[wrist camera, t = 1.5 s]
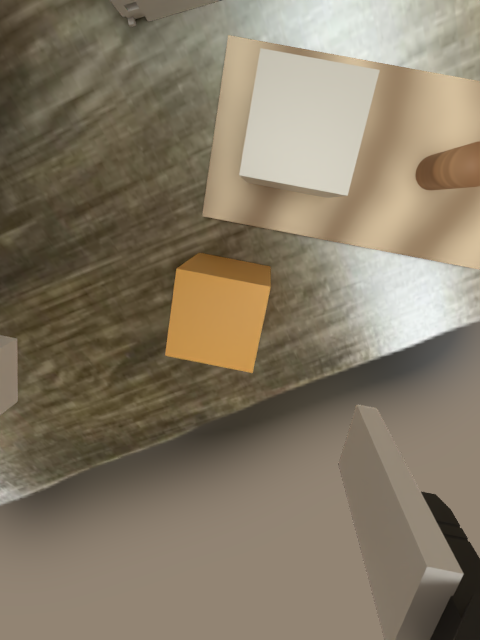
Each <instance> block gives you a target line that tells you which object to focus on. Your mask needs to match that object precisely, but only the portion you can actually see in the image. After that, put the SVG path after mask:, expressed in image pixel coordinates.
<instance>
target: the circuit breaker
mask: <svg viewBox="0 0 480 640" xmlns="http://www.w3.org/2000/svg"><path fill="white" fill-rule="evenodd" d="M110 1H111V3H112V4H113V5H114V6H115V8H116V9H117V10H118V12H119V13H120V14H121V15H122V17H124V16H126V17H127V19H128V23H129V25H130V27H133V26H136V21H135V19H137V18H141V17H144V16H145V17H146V19H147V20H148V22H150V21H153V20H157V19H160V18H164V17H167V16H170V15H174V14H177V13H181V12H184V11H187V10H191V9H194V8H198V7H201V6H204V5H208V4H211V3H215V2H218V1H221V0H110Z"/></svg>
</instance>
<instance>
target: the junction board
mask: <svg viewBox="0 0 480 640" xmlns="http://www.w3.org/2000/svg"><path fill="white" fill-rule="evenodd" d="M260 48H263V49H268V50H273V51H279V52H284V53H290V54H295V55H301V56H306V57H312V58H317V59H323V60H328V61H333V62H339V63H344V64H350V65H355V66H361V67H366V68H372V69H377V70H380V71H379V75H378V79H377V83H376V86H375V90H374V94H373V98H372V102H371V106H370V110H369V114H368V118H367V122H366V126H365V129H364V133H363V137H362V141H361V145H360V149H359V153H358V157H357V161H356V165H355V169H354V172H353V176H352V180H351V184H350V188H349V192H348V196H340V197H329V198H325V197H320V196H315V195H309V194H304V193H299V192H293V191H288V190H283V189H278V188H272V187H267V186H262V185H257V184H251V183H247V182H246V181H245V180H244V179H243V178H242V177H241V176H239V173H240V167H241V161H242V155H243V149H244V143H245V137H246V131H247V125H248V119H249V113H250V107H251V101H252V96H253V90H254V84H255V78H256V72H257V66H258V60H259V54H260ZM202 216H204V217H209V218H215V219H220V220H225V221H230V222H235V223H241V224H246V225H251V226H256V227H261V228H267V229H272V230H277V231H282V232H287V233H293V234H298V235H303V236H308V237H314V238H319V239H324V240H329V241H334V242H340V243H345V244H350V245H355V246H360V247H366V248H371V249H376V250H381V251H386V252H392V253H397V254H402V255H407V256H412V257H418V258H423V259H428V260H433V261H439V262H444V263H449V264H454V265H459V266H465V267H470V268H475V269H480V81H476V80H470V79H465V78H459V77H454V76H448V75H443V74H437V73H432V72H427V71H421V70H416V69H410V68H405V67H399V66H394V65H388V64H383V63H377V62H372V61H366V60H361V59H355V58H350V57H345V56H339V55H334V54H328V53H323V52H317V51H312V50H306V49H301V48H295V47H290V46H284V45H279V44H274V43H268V42H263V41H257V40H252V39H246V38H241V37H235V36H230V35H228V41H227V48H226V55H225V62H224V69H223V76H222V83H221V89H220V96H219V103H218V110H217V117H216V124H215V131H214V138H213V145H212V152H211V158H210V165H209V172H208V179H207V186H206V193H205V200H204V207H203V214H202Z"/></svg>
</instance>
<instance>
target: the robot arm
mask: <svg viewBox="0 0 480 640" xmlns="http://www.w3.org/2000/svg"><path fill="white" fill-rule="evenodd" d="M16 402H18V382H17V338H12V337H7V336H2V335H0V415H1V414H2V413H4V412H5V411H6V410H7V409H9V408H10V407H11V406H12V405H14V404H15V403H16ZM338 465H339V469H340V473H341V477H342V481H343V484H344V488H345V492H346V496H347V499H348V503H349V507H350V511H351V515H352V519H353V522H354V526H355V530H356V534H357V538H358V541H359V545H360V549H361V553H362V556H363V561H364V564H365V568H366V572H367V575H368V579H369V583H370V587H371V591H372V595H373V598H374V602H375V606H376V610H377V614H378V618H379V621H380V625H381V629H382V633H383V637H384V640H480V558H479V557H478V555H477V553H476V552H475V550H474V548H473V547H472V545H471V543H470V542H468V540H467V539H468V538H467V536H466V535H465V533H464V531H463V530H462V528H460V525H459V523H458V521H457V519H456V518H455V516H454V514H453V513H452V511H451V509H450V508H448V506H446V504H444V502H442V500H441V499H440V498H439V497H438V496H436V495H435V494H431V493H425V492H421V491H420V490H419V488H418V486H417V484H416V482H415V480H414V478H413V476H412V474H411V472H410V470H409V468H408V467H407V465H406V463H405V461H404V459H403V457H402V455H401V453H400V451H399V449H398V447H397V446H396V444H395V442H394V440H393V438H392V436H391V434H390V432H389V431H388V428H387V426H386V425H385V423H384V421H383V419H382V417H381V415H380V413H379V411H378V409H377V408H373V407H369V406H363V405H358V404H357V405H356V408H355V412H354V415H353V418H352V421H351V424H350V428H349V431H348V434H347V437H346V441H345V444H344V447H343V451H342V454H341V457H340V460H339V463H338Z"/></svg>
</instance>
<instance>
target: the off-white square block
mask: <svg viewBox="0 0 480 640" xmlns="http://www.w3.org/2000/svg"><path fill="white" fill-rule="evenodd" d="M379 71H380V70H377V69H372V68H366V67H361V66H355V65H350V64H344V63H339V62H333V61H328V60H323V59H317V58H312V57H306V56H301V55H295V54H290V53H284V52H279V51H273V50H268V49H263V48H260V54H259V60H258V66H257V72H256V78H255V84H254V90H253V96H252V101H251V107H250V113H249V119H248V125H247V131H246V137H245V143H244V149H243V155H242V161H241V167H240V173H239V176H241V177H242V178H243V179H244V180H245V181H246V182H247V183H251V184H257V185H262V186H267V187H272V188H278V189H283V190H288V191H293V192H299V193H304V194H309V195H315V196H320V197H325V198H329V197H340V196H348V192H349V188H350V184H351V180H352V176H353V172H354V169H355V165H356V161H357V157H358V153H359V149H360V145H361V141H362V137H363V133H364V129H365V126H366V122H367V118H368V114H369V110H370V106H371V102H372V98H373V94H374V90H375V86H376V83H377V79H378V75H379Z"/></svg>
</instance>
